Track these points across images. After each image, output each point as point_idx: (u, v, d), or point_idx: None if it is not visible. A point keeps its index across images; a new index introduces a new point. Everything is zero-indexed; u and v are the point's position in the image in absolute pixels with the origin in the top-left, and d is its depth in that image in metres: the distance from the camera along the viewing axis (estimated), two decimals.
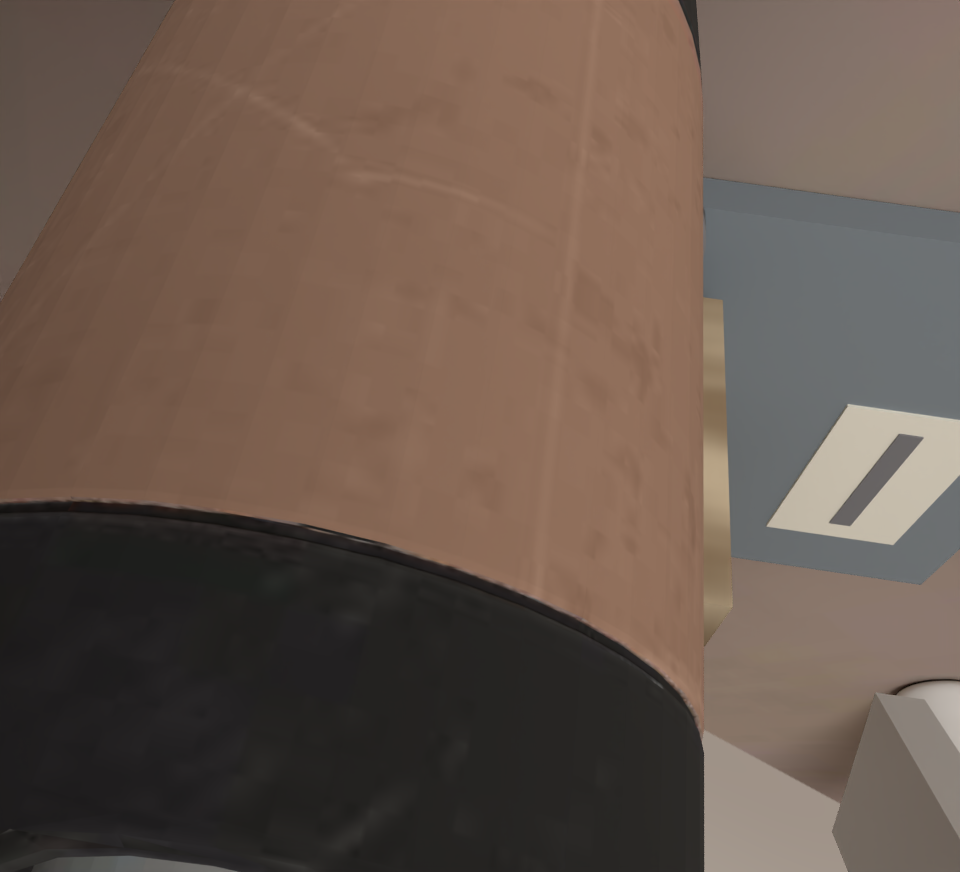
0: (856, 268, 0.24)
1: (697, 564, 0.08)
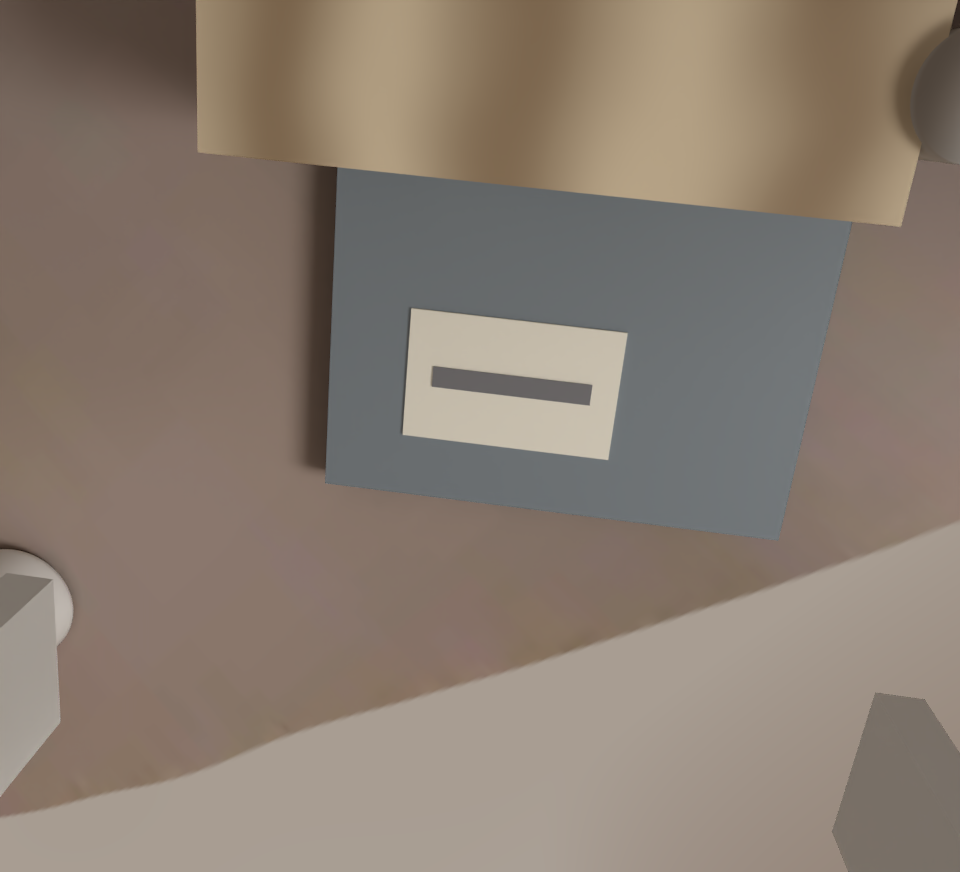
0: (796, 295, 0.32)
1: None
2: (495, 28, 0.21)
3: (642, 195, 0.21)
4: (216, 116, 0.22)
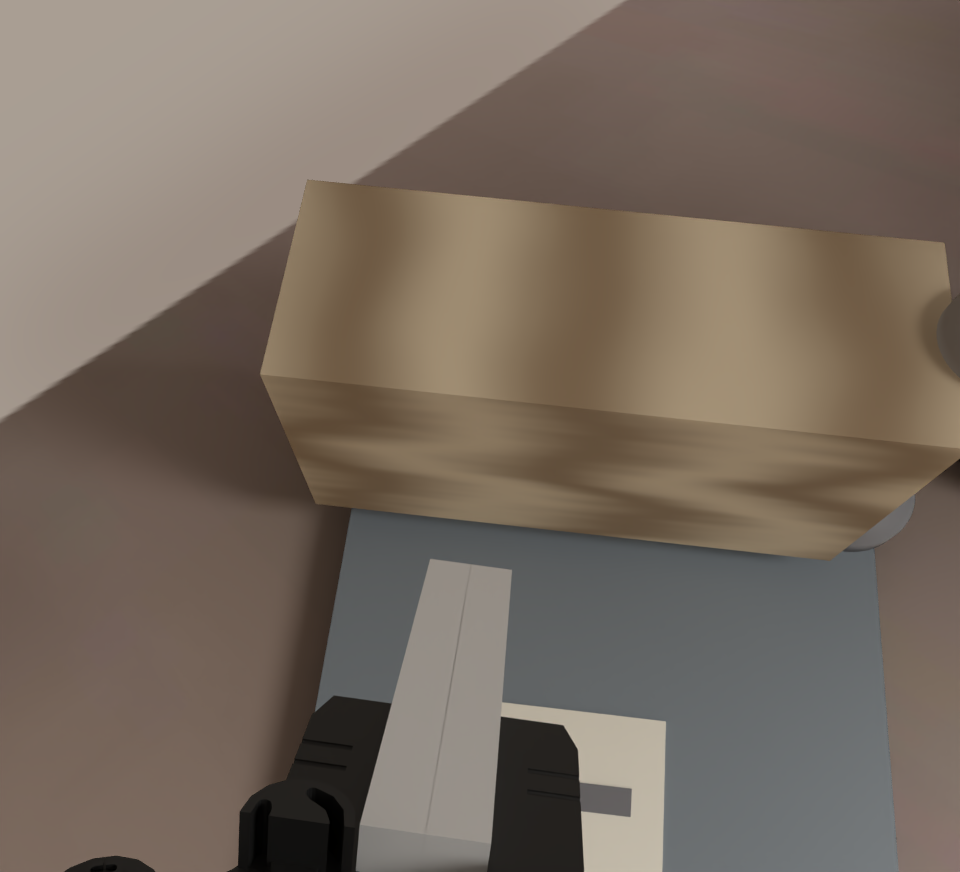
0: (843, 677, 0.29)
1: None
2: (560, 286, 0.23)
3: (712, 419, 0.21)
4: (286, 344, 0.22)
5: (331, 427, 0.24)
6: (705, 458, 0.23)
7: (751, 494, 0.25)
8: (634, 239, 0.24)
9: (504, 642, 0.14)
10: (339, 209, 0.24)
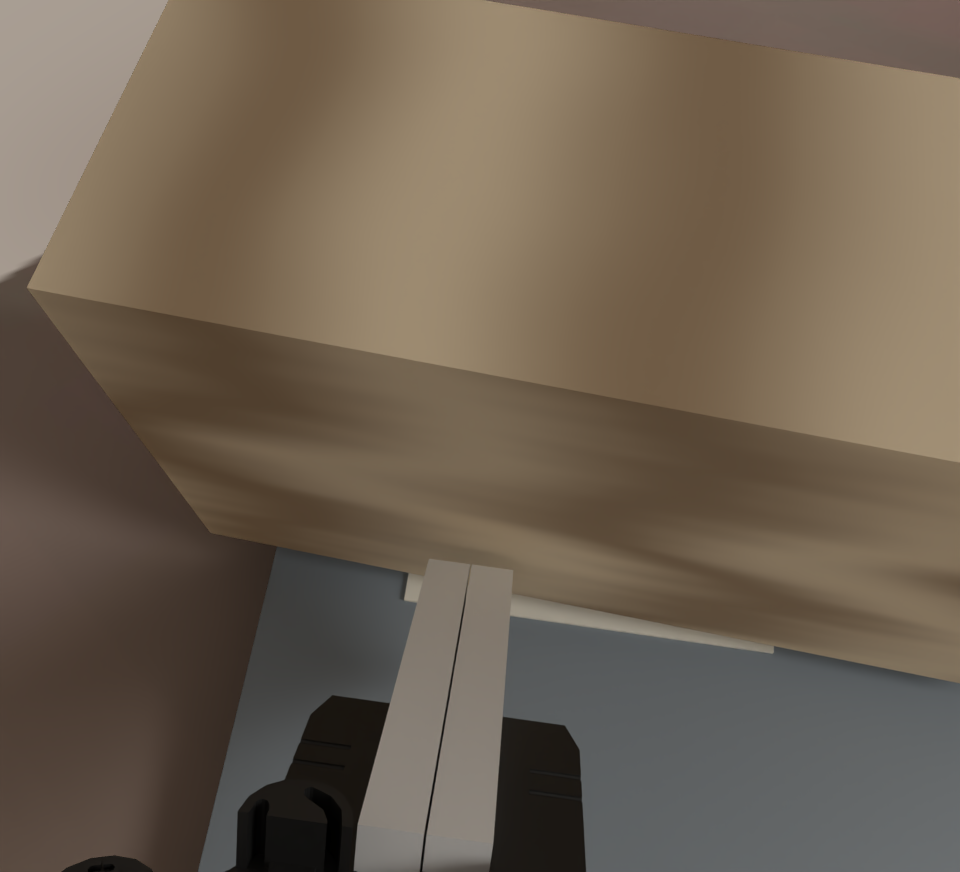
0: None
1: None
2: (648, 170, 0.12)
3: (955, 456, 0.10)
4: (93, 235, 0.11)
5: (196, 411, 0.13)
6: (903, 528, 0.12)
7: (959, 596, 0.14)
8: (794, 98, 0.12)
9: (506, 642, 0.14)
10: (241, 3, 0.13)
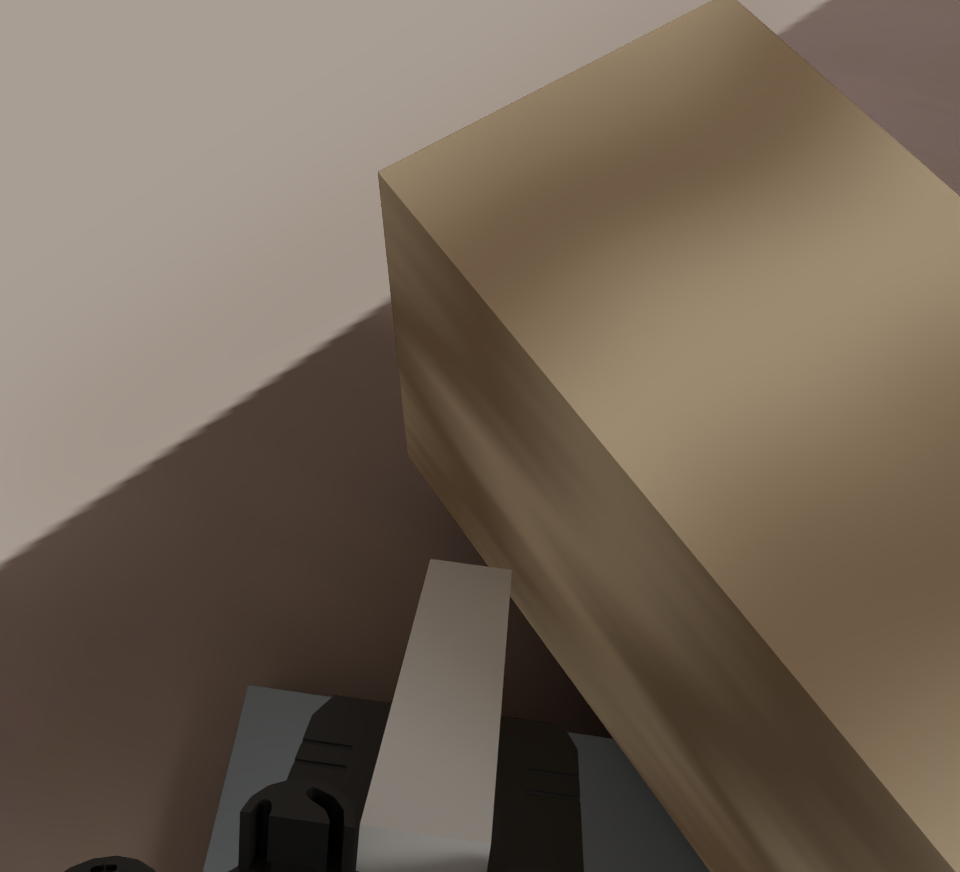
0: None
1: None
2: None
3: None
4: (456, 166, 0.12)
5: (440, 355, 0.13)
6: None
7: None
8: None
9: (504, 642, 0.14)
10: (731, 59, 0.12)
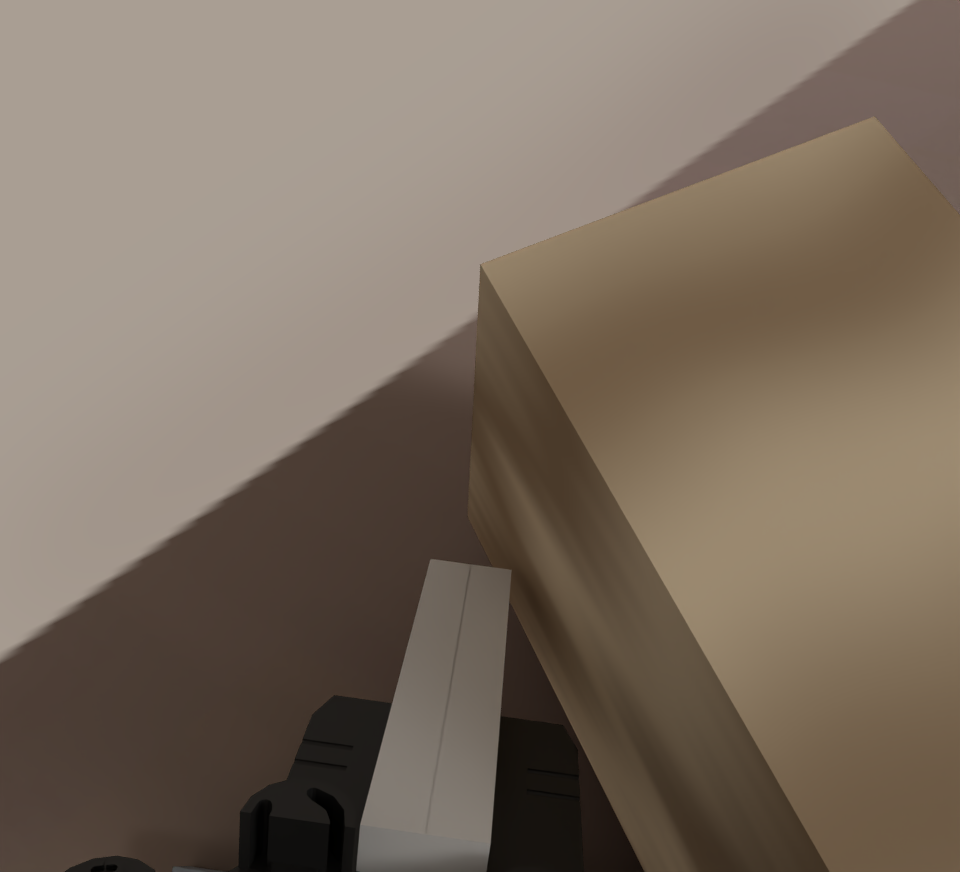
0: None
1: None
2: None
3: None
4: (561, 269, 0.11)
5: (515, 447, 0.13)
6: None
7: None
8: None
9: (504, 642, 0.14)
10: (867, 190, 0.12)
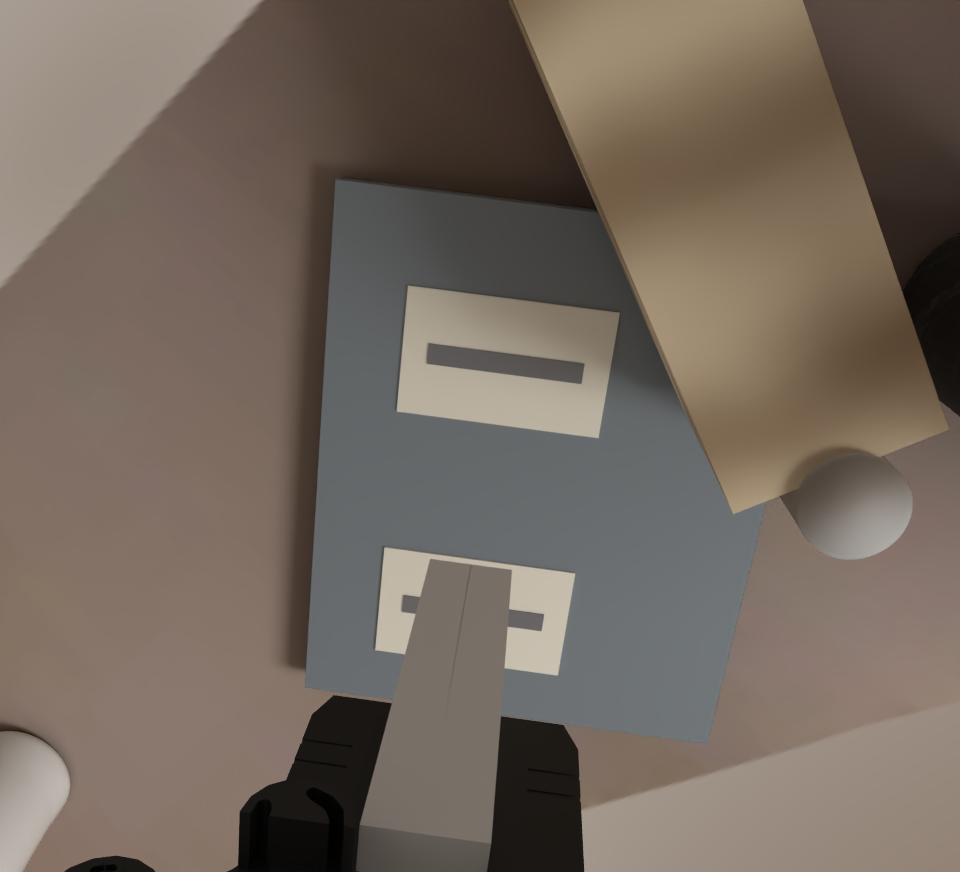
0: (722, 547, 0.37)
1: None
2: (719, 116, 0.22)
3: (652, 317, 0.23)
4: None
5: None
6: (646, 314, 0.25)
7: (661, 352, 0.28)
8: (813, 155, 0.22)
9: (504, 642, 0.14)
10: None
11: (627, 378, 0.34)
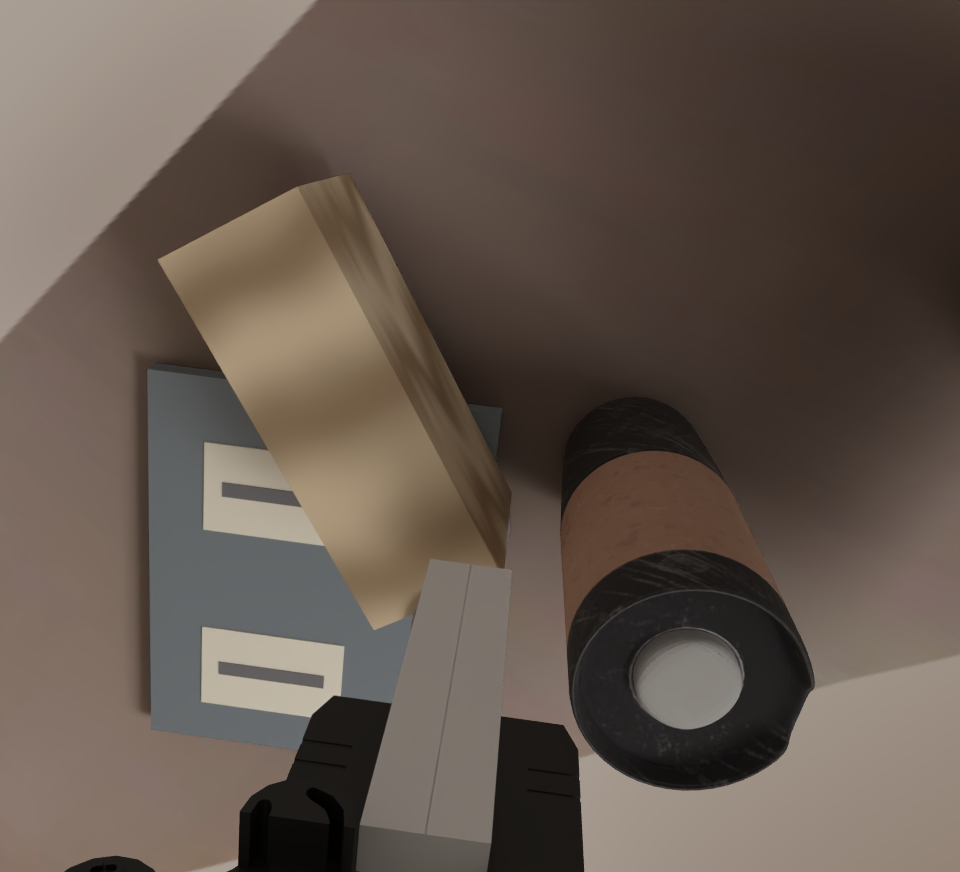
0: None
1: None
2: (329, 389, 0.34)
3: (304, 507, 0.36)
4: (184, 261, 0.33)
5: None
6: None
7: None
8: (390, 413, 0.34)
9: (504, 642, 0.14)
10: (290, 223, 0.32)
11: None
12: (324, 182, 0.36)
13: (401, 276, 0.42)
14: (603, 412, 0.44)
